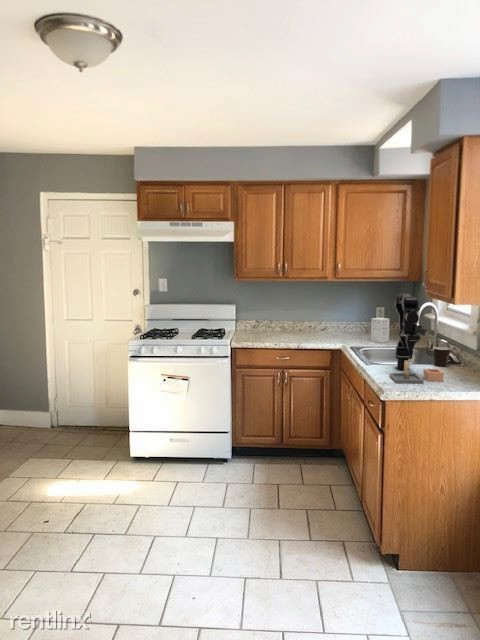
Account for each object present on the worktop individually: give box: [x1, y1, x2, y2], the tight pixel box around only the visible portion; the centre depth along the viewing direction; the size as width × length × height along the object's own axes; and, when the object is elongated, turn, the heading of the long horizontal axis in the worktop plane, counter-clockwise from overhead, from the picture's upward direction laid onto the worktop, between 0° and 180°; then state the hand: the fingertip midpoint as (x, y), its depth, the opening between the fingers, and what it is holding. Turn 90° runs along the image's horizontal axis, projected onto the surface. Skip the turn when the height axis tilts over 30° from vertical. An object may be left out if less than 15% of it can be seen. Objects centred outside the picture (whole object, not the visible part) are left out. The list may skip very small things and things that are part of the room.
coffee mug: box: [432, 346, 450, 368], centre depth 278 cm, size 12×9×10 cm
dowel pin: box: [403, 360, 410, 379], centre depth 246 cm, size 2×2×9 cm
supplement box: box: [370, 317, 390, 344], centre depth 354 cm, size 10×9×17 cm
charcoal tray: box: [389, 372, 425, 385], centre depth 246 cm, size 13×13×2 cm
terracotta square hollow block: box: [422, 368, 445, 382], centre depth 248 cm, size 7×7×4 cm
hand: (407, 351), depth 254 cm, fingers open, 9 cm apart
